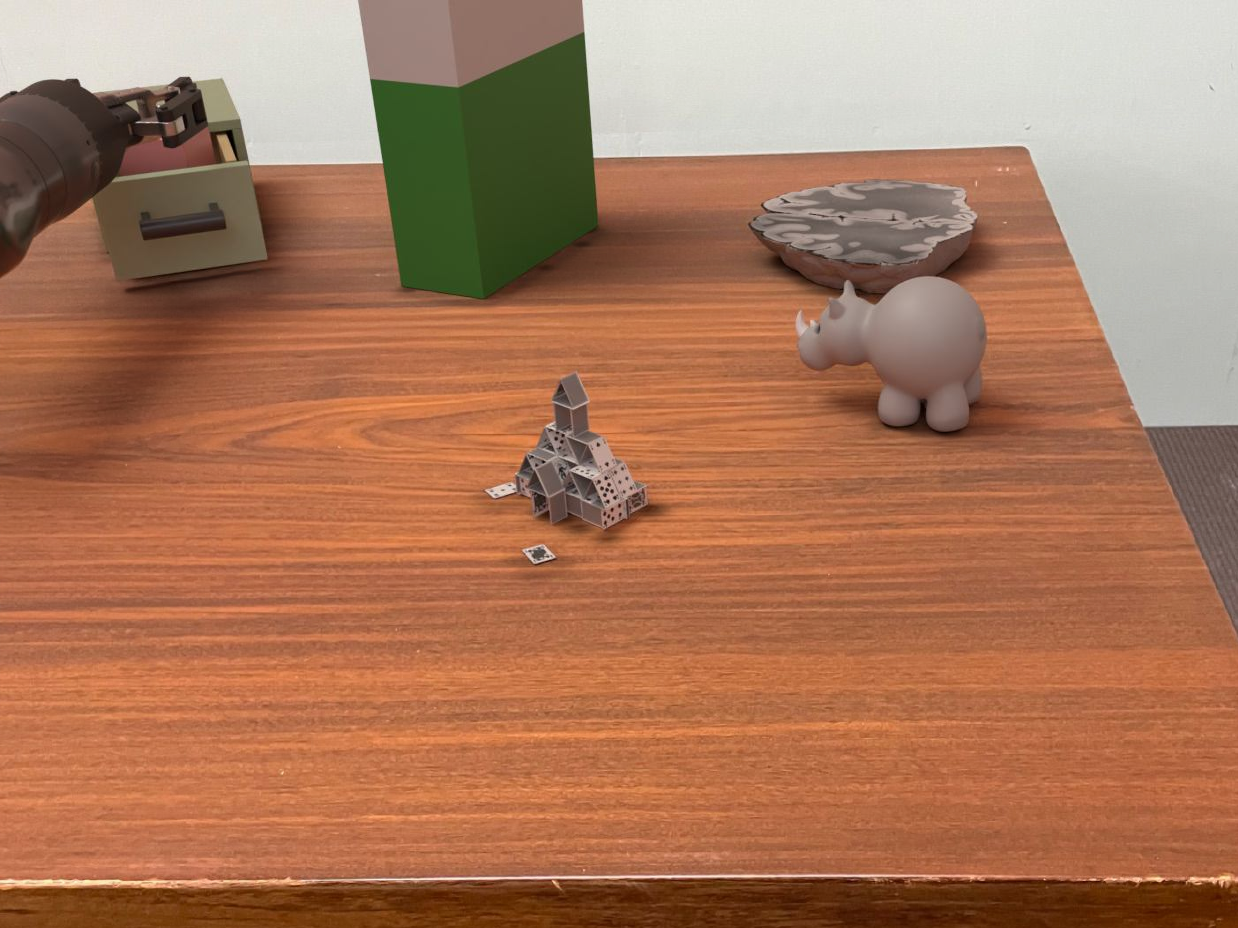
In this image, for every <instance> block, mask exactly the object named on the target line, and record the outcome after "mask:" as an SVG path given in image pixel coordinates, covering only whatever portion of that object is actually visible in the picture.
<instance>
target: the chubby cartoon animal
mask: <svg viewBox="0 0 1238 928" xmlns="http://www.w3.org/2000/svg"><path fill="white" fill-rule="evenodd" d="M855 291H856V289H854V287H853V285H852V283H851V282H850V281H849V280H846V282H845V283H844V289H843V293H842V294H841V295H840V296H839V297H837V298H835V297H832V296H830V297H829V298H828V299H827V302H828V305H826V307H825V308H824V309H823V311H822V312H821V314H820V317H819V320H818V321H817V322H816V321H815V320H814V319H810V320H809V325H808V324H807V322H806V321H805V319H804V316H803V310H802V309H800V310H799V311H798V314H797V316H796V318H795V322H794V327H795V333H796V336H797V337H798V339H797V341H798V342H797V344H796V348H797V350H798V353H799V354H798V355H799V358H800V361H801V362H802V363H803V365H804V366H806V367H807V368H809V369H811V370H812V371H817V372H823V371H827V370H829V369H832V368H833V367H834V366H836V365H841V366H846V367H847V366H848V367H856V366H860V365H862V364H864V363H867V364H870V365H871V366H872V368H873V370H874V372H875V373H876V375H877V376H878V377H879V379H880V380H881V382H882V389H881V392H880V395H879V399H878V403H877V416H878V418H879V420H880V421H881V422H882V423H883V424H885V425H888V426H890V427H891V426H892V427H906V426H910V425H914V424H915V423H917V422H918V421H919V418H920V415H921V404H923V406H924V408H925V409H926V410H925V419H926V423H927V425H928V426H929V428H931V429H932V430H934V431H937V432H942V433H943V432H945V433H946V432H947V433H948V432H954V431H958V430H961V429H963V428H965V427H966V426H968V423H969V421H970V405H972V404H974V403H976V402H978V400H979V399H980V398H981V395H982V392H983V375H982V370H981V366H980V365H981V362H982V361H983V358H984V355H985V352H986V349H987V341H988V332H987V331H988V330H987V324H986V323H987V322H986V318H985V316H984V313H983V310H982V309H981V307H980V305H979V303H978V302H977V300H976V299H975V298H974V296H973V295H972V294H971V293H970V292H969V291H968V290H966V289H965V288H964V287H963V286H961V285H960V284H958V283H957V282H955V281H952V280H949V279H947V278H945V277H944V278H943V277H939V276H935V277H933V276H924V277H917V278H913V279H909V280H907V281H904V282H902V283H900V284H898V285H897V286H895V287H894V288H893V289H891V290H890V291H889V292H888V293H885V294H884V295H883V297H882V298H881V299H880V300H879V301H878V302H877V303H876V304H874V303H871V302H869V301H868V300H866V299H865V298H862V297H860V296H857V294H856V292H855Z"/></svg>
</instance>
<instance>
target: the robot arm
mask: <svg viewBox="0 0 1238 928" xmlns="http://www.w3.org/2000/svg"><path fill="white" fill-rule="evenodd" d="M192 82H193V80H192V78H191V76H179V77H178V78H176V79H174V80H173V81H172V82H170V83H169V85H168V86H166V87H165V88H163V89H159V90H155V91H151V90H148V89H144V88H141V87H140V86H136V87H131V88H126V89H127V90H123V89H122V90H123V91H119V92H115V93H110V94H109V93H105V91H98V93H97V92H91V91H90V90H88V89H86V88H85V87H83V86H82V85H81V81H80V80H79V79H78V78H66V79H64V80H63V79H55V78H52V79H51V78H50V79H42V80H38V81H36V82H32V84H29V85H28V86H26V87H24V88H22V89H21V90H20V91H17V90H11V91H9V92H7V93H5V94H4V95H2V96H0V279H2V278H4V277H5V276H7V275H8V274H10V273H11V272H13V271H14V270H15V269H16V268H17V267H18V266H19V265H20V264H22V262H23V261H24V260H25V258H26V256H27V254H28V252H29V249H30V248H31V245H32V243H33V241H34V239H35V238H37V236H39V235H40V234H42V232H44V231H45V230H47V229H48V228H50V226H51V225H55V224H57V223H59V222H60V221H63V220H65V219H67V218H68V217H69V216H71V215H72V214H73V213H75V212H77V210H79V209H80V208H81V207H82V206H84V205H85V204H86V203H87V202H89V201H90V200H91V199H92V197H93V196H95V195H96V194H97V193H99V192H100V191H101V190H102V189H104V188H105V187H106V186H107V185H109V184H110V183H111V182H112V181H113V179H114V178H115V177H116V175H117V173H118V172H119V169H120V167H121V164H122V161H123V157H124V154H125V152H127V151H128V149H129V148H130V147H133V146H137V145H140V144H144V143H148V142H152V141H155V140H159V139H160V138H161V137H162V141H163V146H164V147H166V148H171V149H173V148H177V147H178V146H181V145H182V144H183V143H185V142H186V141H188V140H189V139H191V138H192V137H193V136H195V135H196V134H198V133H199V132H200V131H202V130H203V129H205V128H206V127H208V121H207V116H206V111H205V107H204V102H203V97H202V93H201V90H200V89H197V85H196V83H192ZM92 93H94V94H92ZM134 100H136V103H137V107H138V111H139V113H138V112H137V111H136V110H134V109H133V108H132V107H131V106H129V105H128V104H127V103H126V102H130V101H134ZM163 100H164V101H165V104H163V105H162V104H159V105H156V103H157V102H159V101H163Z"/></svg>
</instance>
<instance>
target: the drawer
mask: <svg viewBox="0 0 1238 928" xmlns="http://www.w3.org/2000/svg"><path fill="white" fill-rule="evenodd" d="M209 133H210V138H211V142H212V147H213V152H214V156H215V161H216V165H208V166H200V167H192V168H185V169H177V170H169V171H161V172H153V173H145V174H138V175H130V176H122V177H121V173H120V170H119V172H118V173H117V175H116V177H115V178H114V179H113V181H112V182H111V183H110V184H109V185H107V186H106V187H105V188H104V189H102V190H101V191H100V192H99V193H97V194H96V195H95V196H94V198H95V201H96V205H97V209H98V213H99V216H100V220H101V224H102V228H103V232H104V235H105V239H106V243H107V247H108V250H109V252H108V254H109V258H110V261H111V266H112V269H113V274H114V277H115V280H116V282H121V281H127V280H128V281H129V280H135V279H136V280H137V279H141V278H149V277H154V276H155V277H156V276H162V275H163V276H164V275H169V274H175V273H183V272H190V271H197V270H204V269H211V268H218V267H224V266H231V265H238V264H245V263H252V262H258V261H267V260H268V259H269V257H268V251H267V247H266V242H265V238H264V232H263V230H262V228H263V226H262V227H261V224H262V221H261V222H260V219H261V216H260V217H259V214H260V211H259V212H258V209H259V206H258V207H257V204H258V201H257V202H256V199H257V196H256V197H255V194H256V191H255V192H254V189H255V187H254V188H253V184H254V182H253V183H252V179H253V177H252V178H251V174H252V172H251V173H250V169H251V167H250V168H249V164H250V163H249V164H248V162H247V161H239V162H237V160H236V157H235V155H234V152H233V150H232V147H231V145H230V142H229V140H228V137H227V134H226V132H225V131H217V132H209Z"/></svg>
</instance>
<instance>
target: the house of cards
mask: <svg viewBox="0 0 1238 928" xmlns="http://www.w3.org/2000/svg"><path fill="white" fill-rule="evenodd" d="M550 402H551V403H552V409H553V419H554V421H552V422H550V423H548V424H546V425H544V427H543V429H542V431H541V434H540V437H539V439H538V442H537V443H536V445H535V448H534V449H531V450H529V451H527V452H525V453H524V454H525V455H524V458H523V460H522V463H521V466H520V467H519V470H518V472H515V473H514V482H515V483H514V482H512V481H509V482H506V483H503V484H500V485H497V486H494V487H490V488H487V489H485V490H484V491H485V492H486V493H487V494H488V495H489V496H490V497H492V498H493V499H497V498H501V497H505V496H507V495H510V494H514V493H516V496H519V495H522V496H526V497H528V498H530V503H531V510H532V511H531V512H532V518H536V517H538V516H540V515H542V514H544V513H546V512H548V511H549V519H550V521H549V522H550V526H553V525H554V524H556V523H558V522H560V521H562V520H563V519H566V518H568V513H569V514H571V515H573V516H576V517H578V518H581V520H582V521H585V522H587V523H589V524H592V525H593V526H596V527H598V528H600V529H601V531H604V530H606V529H608V528H609V527H612V526H613V525H616V524H618V523H619V522H621V521H623V520H628V518H631V514H633V513H634V512H636V511H639V510H640V509H642V508H644V507H646V506H647V505H649V502H648V500H649V499H648V484H647V483H646V484H644V483H642V482H640V481H637V480H635V479H633V476H632V474H631V472H630V470H629V467H628V466H627V463H626V460H623V459H620V458H618V457H614V454H613V452H612V449H611V448H610V445H609V443H608V441H607V439H606V435H602V434H599V433H596V432H593V431H592V430H590V421H589V420H590V419H589V409H588V408H589V407H588V404H589V403H590V402H591V400H590V398H589V395H588V394H587V391H586V389H585V386H584V385H583V382H582V380H581V378H580V376H579V373H578V370H576V371H574V372H571V373H569V374H567V375H565V376H562V377H560V378H559V380H558V383H557V385H556V387H555V390H554V393H553V395H552V398H551V400H550ZM521 551H522V552H523V554H525V556H526V557H527V558H528V559H529V560H530V561H531V563H533V565H537V564H539V563H542V562H546V561H550V560H553V559H557V556H555V554H554V553H553V552H552V551H550V549H549V548H548V547H547V546H546V545H545V544H544V543H542V544H538V545H534V546H530V547H527V548H523V549H521Z"/></svg>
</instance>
